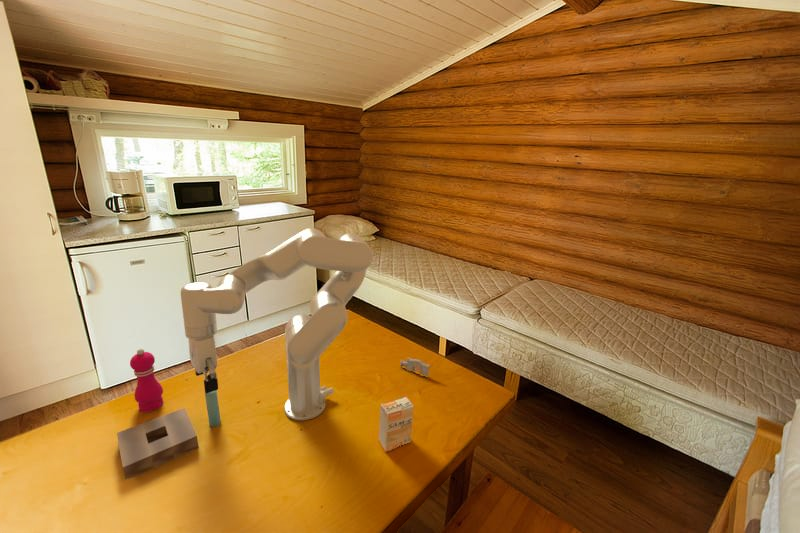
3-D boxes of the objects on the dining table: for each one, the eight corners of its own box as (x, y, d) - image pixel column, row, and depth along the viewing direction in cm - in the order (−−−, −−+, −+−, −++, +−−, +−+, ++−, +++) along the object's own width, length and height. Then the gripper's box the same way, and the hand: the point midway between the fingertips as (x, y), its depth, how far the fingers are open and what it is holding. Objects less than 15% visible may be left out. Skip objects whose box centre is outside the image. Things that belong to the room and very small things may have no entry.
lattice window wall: (399, 368, 137) (400, 354, 135) (401, 365, 138) (402, 352, 137) (427, 379, 131) (428, 365, 129) (429, 376, 133) (430, 362, 131)
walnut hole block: (186, 418, 107) (184, 407, 105) (198, 447, 97) (196, 435, 96) (119, 444, 96) (116, 433, 95) (125, 480, 87) (122, 467, 85)
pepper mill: (151, 415, 107) (139, 357, 101) (131, 411, 109) (118, 353, 102) (170, 399, 114) (160, 344, 108) (151, 396, 115) (140, 341, 109)
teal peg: (219, 418, 108) (214, 387, 104) (222, 423, 106) (217, 392, 102) (208, 422, 106) (203, 391, 102) (211, 428, 104) (206, 396, 100)
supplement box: (385, 453, 98) (387, 414, 94) (378, 441, 102) (379, 403, 98) (411, 443, 102) (414, 406, 98) (403, 432, 106) (406, 395, 102)
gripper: (177, 319, 99) (184, 372, 105) (193, 345, 87) (200, 404, 92) (207, 313, 104) (212, 363, 109) (226, 337, 92) (230, 393, 97)
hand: (206, 382), depth 101 cm, fingers open, 9 cm apart
